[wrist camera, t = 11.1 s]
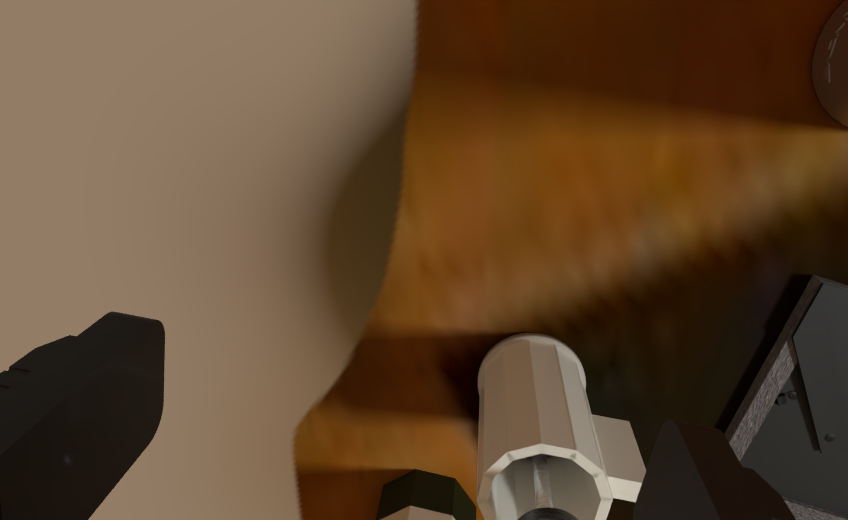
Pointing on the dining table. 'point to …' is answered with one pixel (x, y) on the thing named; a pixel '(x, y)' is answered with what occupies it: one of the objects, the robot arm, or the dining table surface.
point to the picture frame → (802, 408)
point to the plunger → (544, 493)
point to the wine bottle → (425, 499)
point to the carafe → (548, 434)
